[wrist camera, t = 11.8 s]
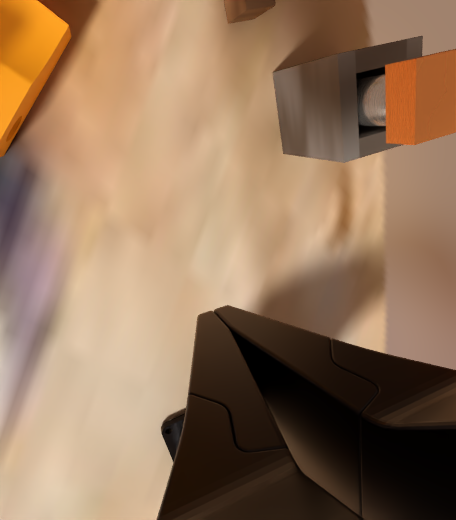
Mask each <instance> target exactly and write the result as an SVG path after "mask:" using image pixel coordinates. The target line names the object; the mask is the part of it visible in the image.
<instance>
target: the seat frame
mask: <svg viewBox="0 0 456 520" xmlns="http://www.w3.org/2000/svg"><path fill="white" fill-rule="evenodd" d="M224 3H225V9H226V14H227V20H228V24H229V23H235V22H240V21H246V20H252V19H255V18H256V17H258V16H259V15H261V14H263V13H264V12H266V11H267V10H269V9H270V8H272V7H273V6H275V0H224ZM422 39H423V36H419V37H414V38H410V39H405V40H401V41H396V42H391V43H386V44H382V45H377V46H372V47H368V48H363V49H358V50H353V51H349V52H344V53H339V54H335V55H332V56H328V57H325V58H322V59H318V60H315V61H311V62H308V63H304V64H301V65H297V66H294V67H290V68H287V69H283V70H280V71H276V72H273V79H274V86H275V94H276V101H277V109H278V117H279V124H280V132H281V139H282V147H283V154H289V155H295V156H302V157H309V158H316V159H323V160H329V161H336V162H343V163H345V162H348V161H351V160H355V159H358V158H361V157H365V156H368V155H371V154H374V153H378V152H381V151H384V150H387V149H391V148H394V147H397V146H401V145H404V144H390V143H386V126H358V107H357V83H356V79H360V78H366V77H372V76H378V75H383V74H385V65H387V64H391V63H396V62H400V61H404V60H409V59H413V58H417V57H422Z"/></svg>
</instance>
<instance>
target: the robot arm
mask: <svg viewBox="0 0 456 520" xmlns="http://www.w3.org/2000/svg"><path fill="white" fill-rule="evenodd" d="M167 429H169V430H167ZM161 432H162V435H163V438H164V440H165V443H166V445H167V447H168V450H169V452H170V455H171V457H172V460H173V462H174V463H173V466H172V470H171V473H170V476H169V480H168V483H167V487H166V490H165V493H164V497H163V500H162V504H161V507H160V510H159V513H158V516H157V520H456V370H453V369H449V368H444V367H440V366H436V365H431V364H427V363H423V362H419V361H414V360H410V359H406V358H402V357H397V356H393V355H389V354H385V353H381V352H377V351H373V350H369V349H365V348H362V347H359V346H355V345H352V344H349V343H345V342H342V341H339V340H336V339H330V338H329V337H326V336H323V335H320V334H317V333H314V332H310V331H307V330H304V329H301V328H298V327H295V326H292V325H289V324H285V323H282V322H279V321H276V320H273V319H270V318H267V317H264V316H260V315H257V314H254V313H251V312H248V311H245V310H242V309H239V308H235V307H232V306H229V305H227V306H223V307H220V308H217V309H215V310H214V312H213V311H208V312H205V313H202V314H200V315H198V317H197V326H196V334H195V342H194V350H193V358H192V367H191V375H190V383H189V391H188V398H187V406H186V413H185V414H184V415H182V416H179V417H177V418H175V419H173V420H171V421H168V422H166V423H164V424H163V425H162V427H161Z"/></svg>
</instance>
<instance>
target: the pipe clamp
mask: <svg viewBox="0 0 456 520" xmlns="http://www.w3.org/2000/svg"><path fill="white" fill-rule="evenodd" d="M70 39H71V33H70V28H69V25H68V24H67V23H65V22H64V21H63V20H62V19H60V18H59V17H58V16H57V15H55V14H54V13H53V12H52V11H50V10H49V9H48V8H46V7H45V6H44V5H43V4H41V3H40V2H39V1H38V0H0V157H2V156H4V154H5V153H6V151H7V149H8V147H9V146H10V144H11V142H12V140H13V139H14V137H15V135H16V133H17V132H18V130H19V128H20V126H21V125H22V123H23V121H24V119H25V118H26V116H27V114H28V112H29V111H30V109H31V107H32V105H33V104H34V102H35V100H36V98H37V97H38V95H39V93H40V91H41V90H42V88H43V86H44V84H45V83H46V81H47V79H48V77H49V76H50V74H51V72H52V70H53V69H54V67H55V65H56V63H57V61H58V60H59V58H60V56H61V54H62V53H63V51H64V49H65V47H66V46H67V44H68V42H69V40H70Z"/></svg>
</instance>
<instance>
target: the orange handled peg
mask: <svg viewBox="0 0 456 520" xmlns="http://www.w3.org/2000/svg"><path fill="white" fill-rule="evenodd" d="M356 83H357V107H358V126H386V143H390V144H406V145H416V144H419V143H423V142H426V141H429V140H432V139H435V138H439V137H442V136H445V135H448V134H452V133H455V132H456V49H453V50H448V51H443V52H439V53H435V54H430V55H426V56H422V57H417V58H413V59H409V60H404V61H400V62H396V63H391V64H387V65H385V74H383V75H378V76H372V77H366V78H360V79H356Z"/></svg>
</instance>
